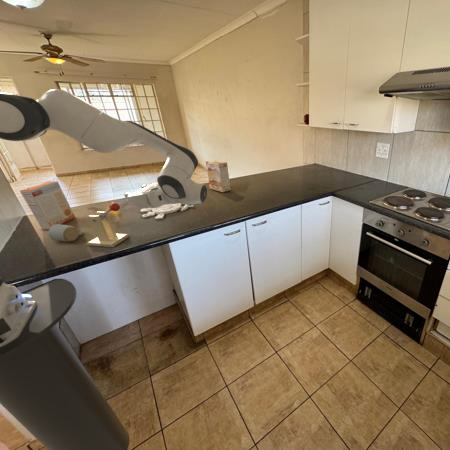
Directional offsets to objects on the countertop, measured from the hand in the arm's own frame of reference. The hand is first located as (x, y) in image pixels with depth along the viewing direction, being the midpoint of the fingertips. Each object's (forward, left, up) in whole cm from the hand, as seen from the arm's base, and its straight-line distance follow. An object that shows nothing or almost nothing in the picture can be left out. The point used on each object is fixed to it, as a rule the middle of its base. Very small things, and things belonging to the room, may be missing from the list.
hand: (134, 191), depth 99 cm
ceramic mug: (+29, +29, -25) cm, 48 cm away
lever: (+11, +11, -12) cm, 20 cm away
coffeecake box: (+51, -53, -25) cm, 77 cm away
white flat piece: (+38, -15, -25) cm, 48 cm away
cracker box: (+53, +34, -25) cm, 68 cm away
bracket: (+15, +15, -25) cm, 33 cm away
